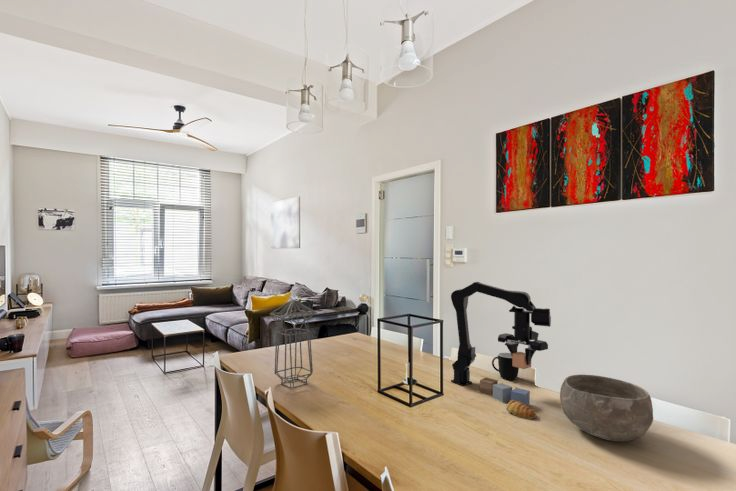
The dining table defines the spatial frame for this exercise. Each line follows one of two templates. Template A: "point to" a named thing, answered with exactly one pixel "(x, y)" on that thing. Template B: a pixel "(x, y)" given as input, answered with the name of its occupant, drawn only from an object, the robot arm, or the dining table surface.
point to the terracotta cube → (520, 360)
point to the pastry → (520, 410)
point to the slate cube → (502, 392)
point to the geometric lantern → (289, 306)
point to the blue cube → (521, 395)
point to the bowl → (607, 407)
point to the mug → (506, 366)
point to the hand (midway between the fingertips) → (521, 363)
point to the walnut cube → (487, 386)
